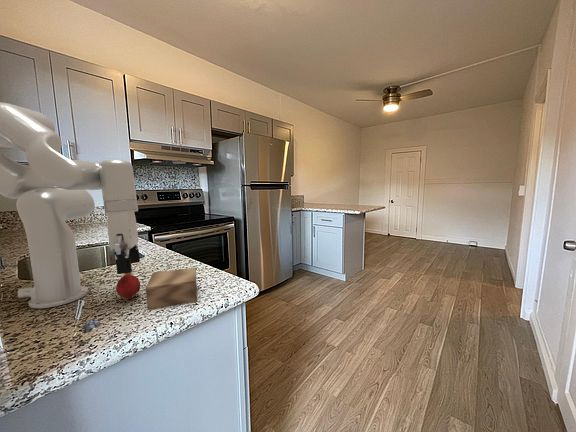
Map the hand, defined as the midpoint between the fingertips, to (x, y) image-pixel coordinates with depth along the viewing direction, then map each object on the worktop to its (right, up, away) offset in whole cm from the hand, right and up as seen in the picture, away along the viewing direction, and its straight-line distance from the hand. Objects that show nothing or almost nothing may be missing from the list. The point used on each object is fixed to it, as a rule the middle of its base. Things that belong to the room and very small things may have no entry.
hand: (129, 267), depth 69 cm
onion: (-1, -9, +1) cm, 9 cm away
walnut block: (+12, -9, +2) cm, 15 cm away
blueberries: (-2, -12, -12) cm, 17 cm away
